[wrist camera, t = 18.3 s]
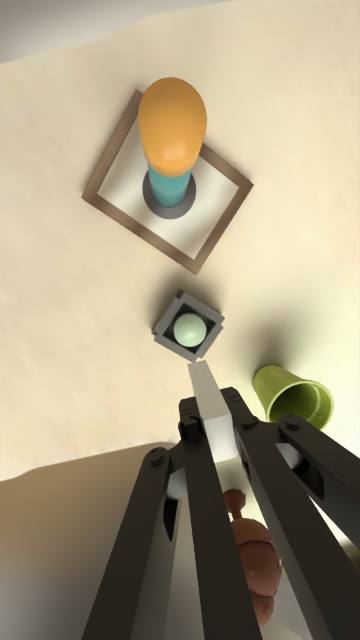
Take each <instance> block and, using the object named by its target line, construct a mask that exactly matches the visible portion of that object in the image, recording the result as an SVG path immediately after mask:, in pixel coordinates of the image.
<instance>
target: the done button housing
mask: <svg viewBox="0 0 360 640" xmlns="http://www.w3.org/2000/svg"><path fill="white" fill-rule="evenodd" d="M187 311H189V312H194V313H196V314H197V315H198V316H199V317H200V318H201V319H202V321H203V322H204V324H205V326H206V335H205V338H204V339H203V341H202V342H201V343H199V344H198V345H196V346H192V347H188V346H184V345H182V344H180V343H179V342H178V341H177V340H176V338H175V335H174V328H173V323H174V320H175V318H176V317H177V316H178V315H179V314H181V313H183V312H187ZM224 319H225V318H224V317H223V316H222V315H220V314H219V313H217V312H216V311H214V310H213V309H211V308H210V307H208V306H206V305H205V304H203V303H202V302H200V301H199V300H197V299H196V298H194V297H192V296H191V295H189V294H188V293H186V292H185V291H183V290H182V289H180V288H179V289H178V290H177V292H176V294H175V295H174V297H173V298H172V300H171V301H170V303H169V305H168V306H167V308H166V309H165V311H164V313H163V314H162V316H161V317H160V319H159V320H158V322H157V324H156V325H155V327H154V328H153V330H152V332H151V334H153V335H155V337H154V341H156V342H157V343H159V344H161V345H163V346H164V347H166V348H168V349H170V350H171V351H173V352H175V353H177V354H178V355H180V356H182V357H184V358H185V359H187V360H189V361H191V362H192V363H194V362H195V361H196V359H197V358H198V357H200V358H201V359H202V358H203V356H204V355H205V353H206V352H207V350H208V349H209V347H210V346H211V345H212V343H213V342H214V340H215V339H216V337H217V336H218V334H219V333H220V332H221V330H222V329H223V326H221V323H222V322H223V320H224Z"/></svg>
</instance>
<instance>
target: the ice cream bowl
mask: <svg viewBox="0 0 360 640" xmlns="http://www.w3.org/2000/svg"><path fill="white" fill-rule="evenodd" d="M223 496H224V500H225V504H226V507H227V511H228V512H229V513H232V517H233V520H234V521H232V522H231V526H232V529H233V533H234V537H235V540H236V544H237V548H238V551H239V555H240V559H241V562H242V566H243V570H244V573H245V577H246V581H247V584H248V588H249V592H250V595H251V599H252V603H253V606H254V610H255V614H256V617H257V621H258V625H259V627H263V626H264V625H265V624H266V623H267V622H268V621H269V620H270V618H271V615H272V613H273V606H274V598H273V596H275V595H276V593H277V589H278V586H279V580H280V578H281V574H282V567H283V564H282V562H281V559H280V557H279V554H278V552H277V549H276V547H275V544H274V542H273V540H272V537H271V535H270V532H269V530H268V529H267V528H266V527H265V526H264V525H263V524H262V523H260V522H258V521H256V520H253V519H247V518H242V515H241V512H240V510H241V509H242V508H243V507H244V506H245V499H246V498H245V495H244V494H243V493H242V492H241V491H240V490H234V489H232V490H229V491H227V492H224V493H223Z"/></svg>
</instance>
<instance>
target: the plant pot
mask: <svg viewBox="0 0 360 640" xmlns="http://www.w3.org/2000/svg"><path fill="white" fill-rule="evenodd" d="M253 388H254V390H255V392H256V394H257V396H258V398H259V400H260V402H261V404H262V406H263V408H264V410H265V413H266V420H267V422H272V423H277V421H278V418H279V417H280V416H282V415H285V414H294V415H298V416H300V417H302V418H303V419H305V420H306V421H308V422H309V423H310V424H312V425H313V426H315V427H316V428H317V429H319V430H320V431H322V430H323V429H324V428H325V427H326V425H327V424H328V422H329V421H330V419H331V417H332V414H333V409H334V403H333V398H332V396H331V394H330V392H329V391H328V389H327V388H325V387H324V386H323V385H321V384H320V383H318V382H315V381H311V380H305V379H301V378H300V377H298V376H296V375H294V374H292V373H290V372H288V371H287V370H285V369H283V368H281V367H279V366H275V365H268V366H265V367H263V368H261V369H260V370H259V371H258V372H257V373H256V375H255V378H254V380H253Z"/></svg>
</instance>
